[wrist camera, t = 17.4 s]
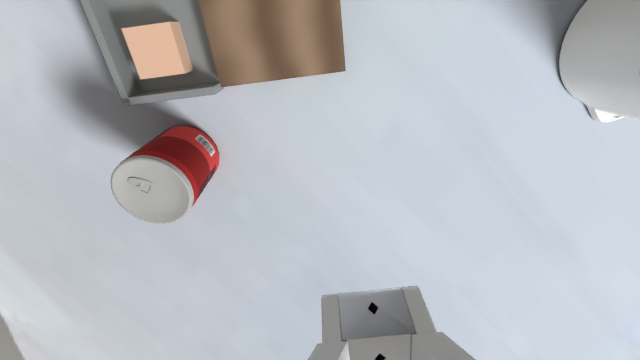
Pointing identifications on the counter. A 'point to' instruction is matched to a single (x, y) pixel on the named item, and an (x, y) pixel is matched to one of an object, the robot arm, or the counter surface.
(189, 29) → the tray
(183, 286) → the counter surface
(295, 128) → the counter surface
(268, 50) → the board
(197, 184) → the canned food
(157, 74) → the tile terracotta
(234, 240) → the counter surface
